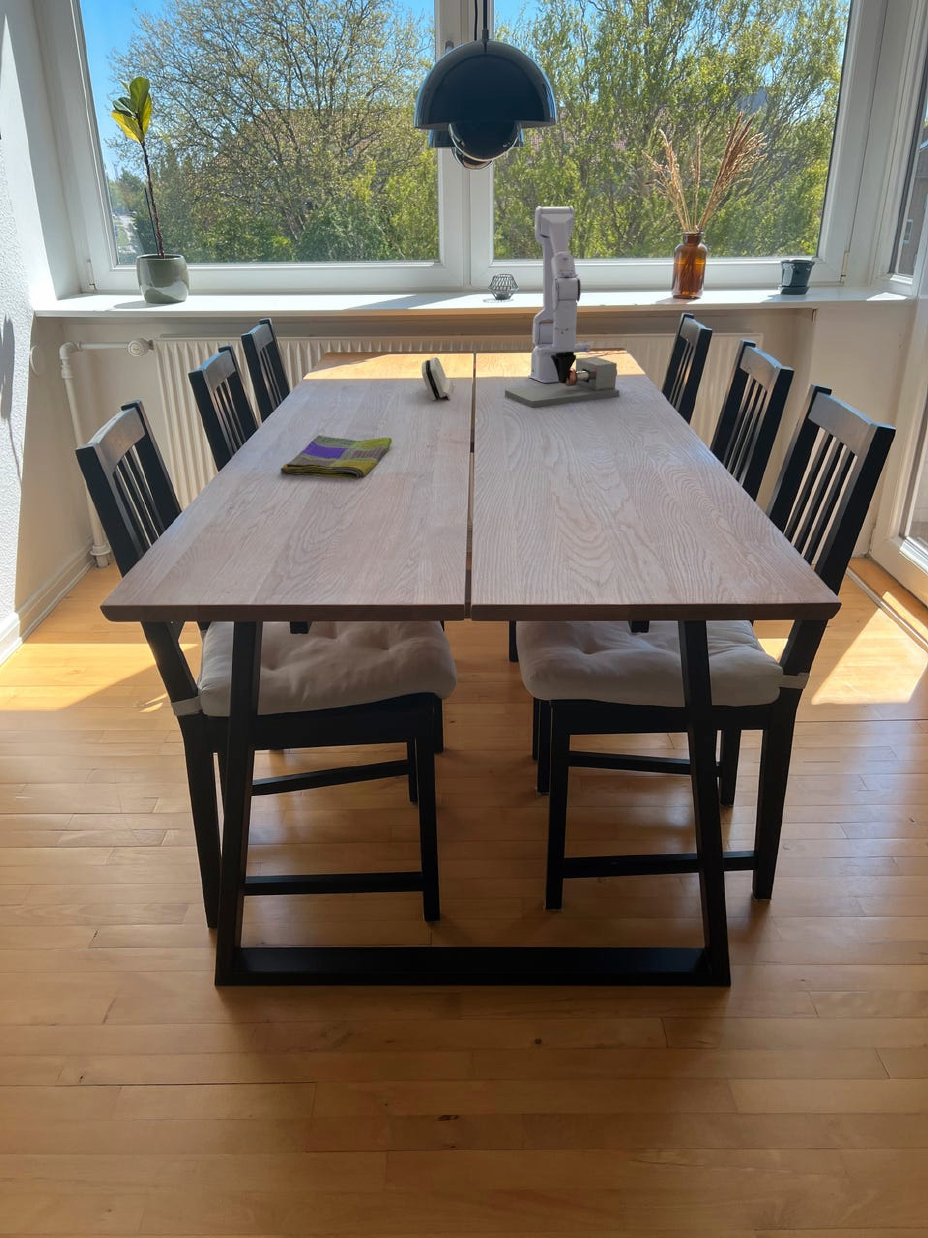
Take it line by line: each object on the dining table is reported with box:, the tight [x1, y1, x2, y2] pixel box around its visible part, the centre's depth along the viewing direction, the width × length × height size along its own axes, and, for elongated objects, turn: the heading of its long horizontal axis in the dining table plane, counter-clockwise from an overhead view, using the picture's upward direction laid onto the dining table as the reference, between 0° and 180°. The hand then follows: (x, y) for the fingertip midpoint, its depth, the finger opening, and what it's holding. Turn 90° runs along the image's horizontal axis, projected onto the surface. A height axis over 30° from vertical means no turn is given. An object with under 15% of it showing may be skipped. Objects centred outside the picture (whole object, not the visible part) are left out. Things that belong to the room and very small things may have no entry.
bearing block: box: [575, 356, 618, 391], centre depth 243 cm, size 10×6×6 cm, turn 26°
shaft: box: [564, 367, 618, 387], centre depth 243 cm, size 4×15×4 cm, turn 116°
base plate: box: [504, 382, 620, 408], centre depth 241 cm, size 14×26×2 cm, turn 116°
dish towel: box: [280, 434, 393, 479], centre depth 192 cm, size 18×24×3 cm
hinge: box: [421, 357, 454, 401], centre depth 244 cm, size 17×5×10 cm, turn 178°
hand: (562, 382), depth 240 cm, fingers closed
